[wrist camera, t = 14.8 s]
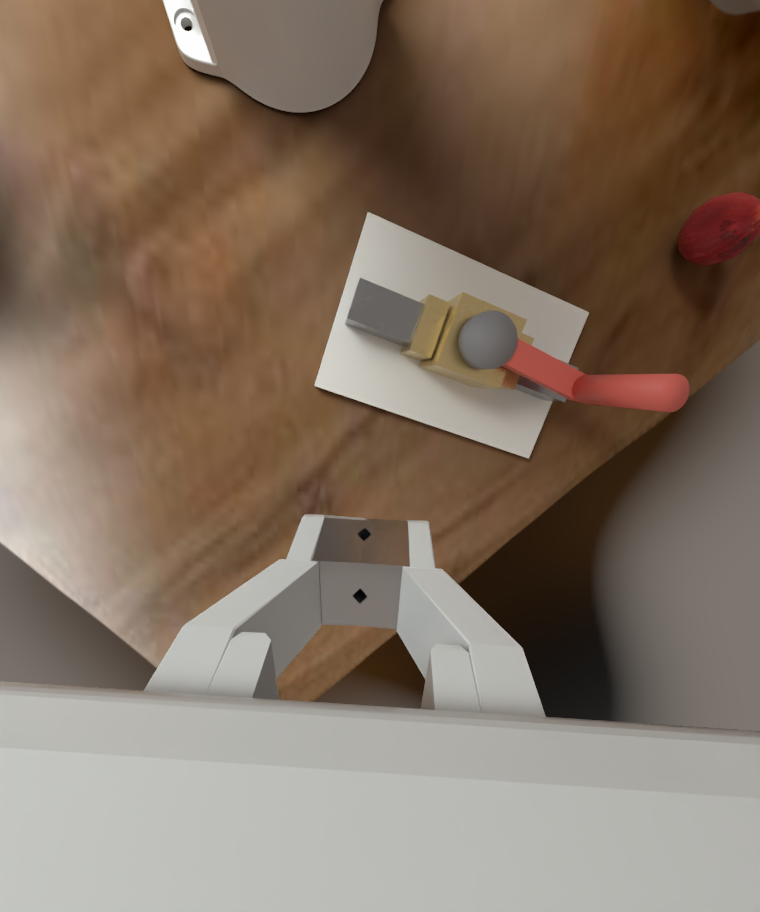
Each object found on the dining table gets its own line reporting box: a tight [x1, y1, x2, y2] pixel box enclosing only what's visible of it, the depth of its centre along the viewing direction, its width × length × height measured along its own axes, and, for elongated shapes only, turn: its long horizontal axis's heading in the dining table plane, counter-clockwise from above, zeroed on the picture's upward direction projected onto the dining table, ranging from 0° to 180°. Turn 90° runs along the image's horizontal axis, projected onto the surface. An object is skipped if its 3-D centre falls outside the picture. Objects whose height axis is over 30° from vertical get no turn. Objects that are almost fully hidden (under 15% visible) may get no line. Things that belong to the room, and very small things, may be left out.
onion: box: [678, 192, 760, 266], centre depth 35 cm, size 6×6×8 cm
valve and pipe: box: [345, 278, 579, 402], centre depth 34 cm, size 22×6×7 cm, turn 71°
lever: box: [458, 310, 690, 412], centre depth 26 cm, size 13×4×9 cm, turn 66°
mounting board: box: [314, 212, 589, 459], centre depth 37 cm, size 24×16×1 cm, turn 71°
